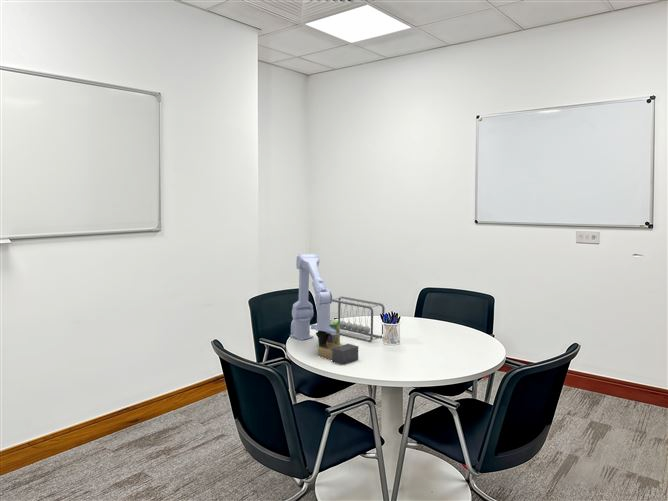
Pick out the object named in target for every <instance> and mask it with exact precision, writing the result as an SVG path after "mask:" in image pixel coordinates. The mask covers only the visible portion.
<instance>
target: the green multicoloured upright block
mask: <svg viewBox="0 0 668 501" xmlns="http://www.w3.org/2000/svg"><path fill="white" fill-rule="evenodd" d="M340 322H341V320H340V321H338V319H337V320H335V319H330V328H332V329H334V330H336V335H332V334H330V335H329V337H328V339H327V342H326V344H328V343H334V344H337V345H341V344H340V342H341V339H340V337H341V335H340V333H341V329H340ZM317 341H318V343H317V344H318V345H317V347H318V346H320V342H319V339H318V338H317Z"/></svg>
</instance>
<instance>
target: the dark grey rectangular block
mask: <svg viewBox="0 0 668 501" xmlns="http://www.w3.org/2000/svg"><path fill="white" fill-rule="evenodd" d="M356 361H359V346H358V345H355V344H350V343H346V344H345V343H344V344H341V345H340V346H338V347H335V348H332V363H334V362H335V363H334V364H337V363H338V365H341V366H344V365H347V364H350V363H352V362H356Z"/></svg>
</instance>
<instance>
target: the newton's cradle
mask: <svg viewBox="0 0 668 501" xmlns="http://www.w3.org/2000/svg"><path fill="white" fill-rule="evenodd" d="M332 303H337V304H338V305H337V306H338V307H337V310H338V311H337V321H340V330H343V331H347V330H348V332H352V333H356V334H359V335H364V336H369V337H370V338H369V339H367V338H363V337H359V336H355V335H351V334H347V333H342V332H340V336H342V337H347V338H351V339H353V340H354V339H355V340H358V341H362V342H367V343H370V342H372V341H373V340H377V339H382V338H383V337H382V334H383V325H382V324H381V335H378V334H374V309H373V308H374V307H378V306H381V308H382V309H381V310H382V311H381V315H382V314H384V315H385V312H386V311H385V305H384V304H383V303H380V302H374V301H368V300H365V299H359V298H358V299H357V298H354V297H353V298H352V297H347V296H339V297H336V298H332ZM342 304H343V305H345V307H344V308H347V305H348V306H351V307H350V308H351V310H354V309H353V306H354V307H357V311H356V312H355V315H357V313H358V312H360V311H359V308H362V309H363V311H362V312H361V315H363V312H364V313H366V312H365V309H368V310H369V311H370V313H369V312H368V313H367V316H368V317H369V315H370V326H368V325H365V326H364V325H363V324H362V322H363V319H361V318H360V317H358V319H359V321H360V320H361V321H360V323H359V325H358V324H357V323H356V321H357V318H355V317H354V316H355V315H353V316H352V318H353V319H354V322H353V323H351V322H350V319H348V320H347V321H348V322H346V321H344V317H342V320H341V315H343V314H346V313H345V312H346V310H344V312H342V310H341V305H342ZM348 313H349V314H348ZM351 314H352V311H350V312H347V316H348V315H351ZM364 322H365V323H366V324H368V322H369V321H368V320H366V318H365V319H364Z"/></svg>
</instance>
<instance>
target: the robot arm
mask: <svg viewBox="0 0 668 501" xmlns="http://www.w3.org/2000/svg"><path fill="white" fill-rule="evenodd" d="M295 264H296V266H295V267H296V269H297V270H299V271H298V272H299V274H298V275H299V277H298V278H299V279H298V300H297V301H296V302H294V303H293V304H292V309H291V317H292V321H291V324H290V335H289V337H291V338H292V339H293V338H294V339H297V340H301V341H304V340H308V339H312V338H314V336H313V335H311V333H310V332H311V330H315V331H316V332H315V335H316V336H317V340H318V339H319V342H320V346H321V345H324V344H326V342H327V339H328V337H329V335H330V334H332V335H336V330H334V329H332V328H330V320H331V315H330V314H331V304H332V303H333V302H332V299H333V294H332V292H331V290H329V289H330V288H329V289H328V288H327V285H326V282H325V280H324V279H323V278H322V277H321V274H320V271H319V266H320V265H319V264H320V256H319V255H318V253H308V254H307V253H305V254H304V253H303V254H298V255H297V256H296V263H295ZM310 277H311V279H312V283H311V286H312V288H313V291H314V294H315V295H314V296H315V297H314V299H315V300H314V301H315V307H316V323H313V324H311V323H310V322H311V320H312V319H313V317H314V306H313V304H312V303H311V301H309V292H310Z"/></svg>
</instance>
